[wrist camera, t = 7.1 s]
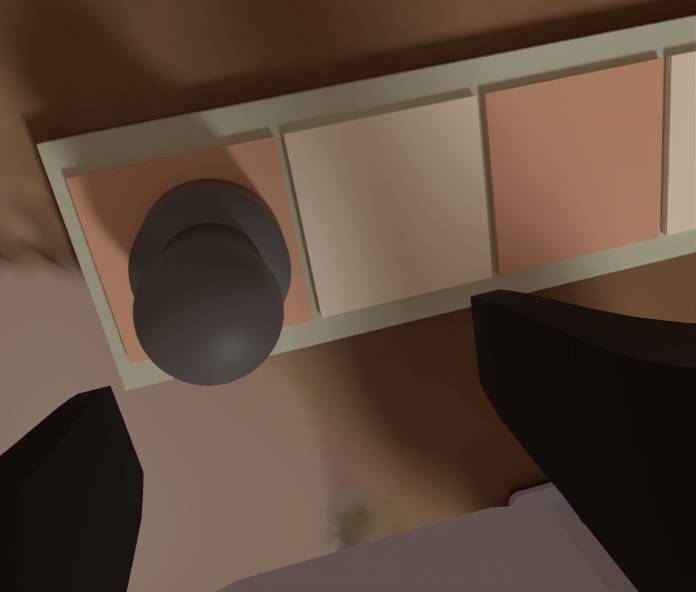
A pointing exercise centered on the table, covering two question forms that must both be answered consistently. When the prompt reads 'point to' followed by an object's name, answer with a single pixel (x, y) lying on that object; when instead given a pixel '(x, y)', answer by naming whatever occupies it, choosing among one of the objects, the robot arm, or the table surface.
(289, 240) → the board
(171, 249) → the pawn
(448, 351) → the table surface
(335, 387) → the table surface
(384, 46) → the table surface
